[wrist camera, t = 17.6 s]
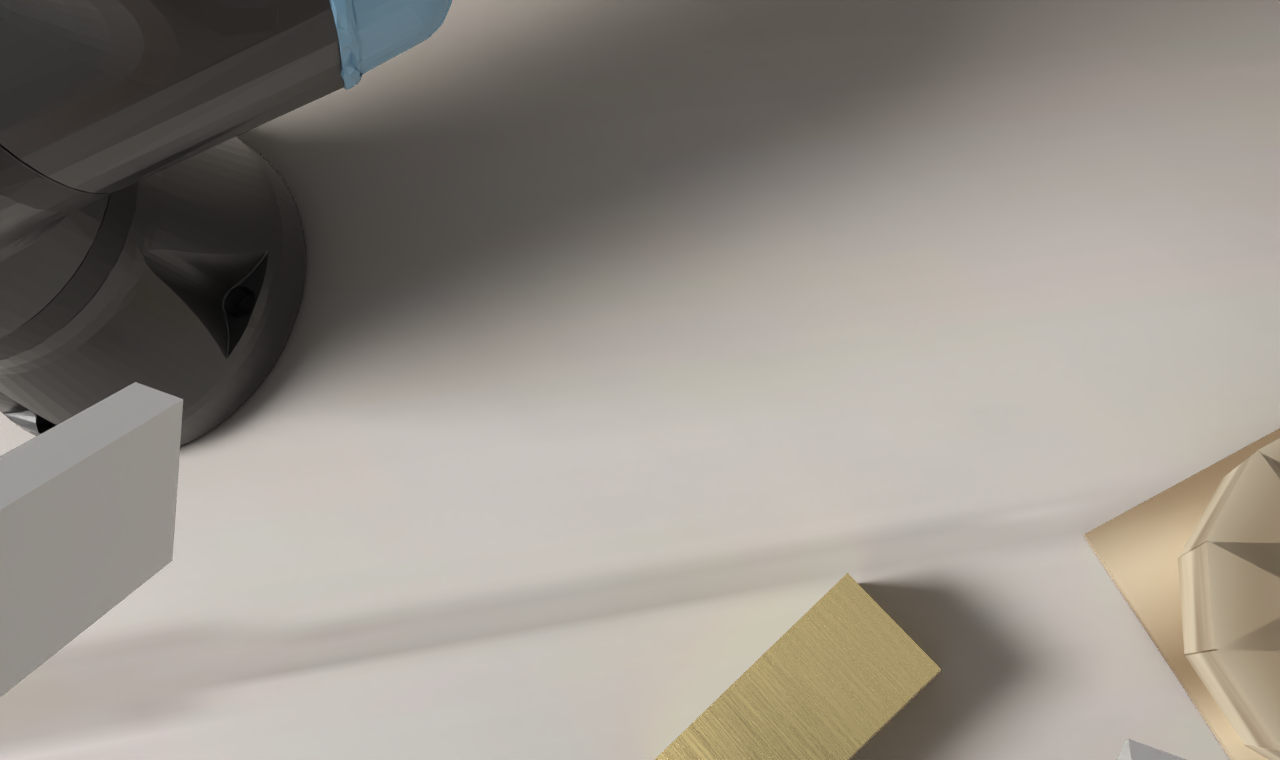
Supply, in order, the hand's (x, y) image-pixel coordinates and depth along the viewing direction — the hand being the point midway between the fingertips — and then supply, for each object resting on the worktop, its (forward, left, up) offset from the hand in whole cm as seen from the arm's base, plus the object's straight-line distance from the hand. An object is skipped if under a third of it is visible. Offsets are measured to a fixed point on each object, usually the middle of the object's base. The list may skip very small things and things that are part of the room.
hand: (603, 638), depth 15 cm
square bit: (0, +3, -24) cm, 25 cm away
